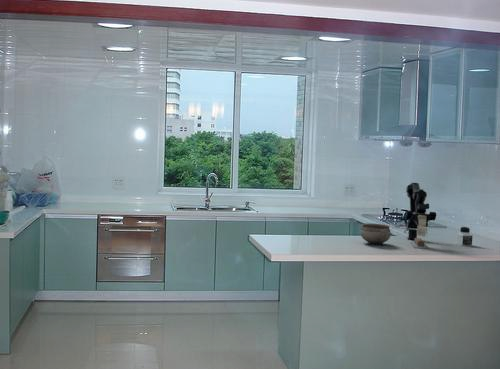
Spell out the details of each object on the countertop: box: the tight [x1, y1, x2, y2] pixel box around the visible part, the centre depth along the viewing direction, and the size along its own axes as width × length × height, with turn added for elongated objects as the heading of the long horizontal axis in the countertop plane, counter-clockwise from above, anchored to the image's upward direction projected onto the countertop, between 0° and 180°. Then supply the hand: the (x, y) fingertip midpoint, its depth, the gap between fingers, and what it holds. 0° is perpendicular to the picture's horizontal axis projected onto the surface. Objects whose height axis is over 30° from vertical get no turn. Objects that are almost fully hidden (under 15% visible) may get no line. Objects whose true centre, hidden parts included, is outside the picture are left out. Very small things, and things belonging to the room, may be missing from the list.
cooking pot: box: [359, 222, 393, 246], centre depth 386 cm, size 25×19×12 cm
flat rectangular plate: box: [409, 237, 430, 250], centre depth 385 cm, size 20×9×4 cm, turn 173°
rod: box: [417, 215, 427, 237], centre depth 384 cm, size 4×4×13 cm
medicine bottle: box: [456, 226, 474, 247], centre depth 399 cm, size 7×7×12 cm
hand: (421, 225), depth 383 cm, fingers closed on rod, 4 cm apart
